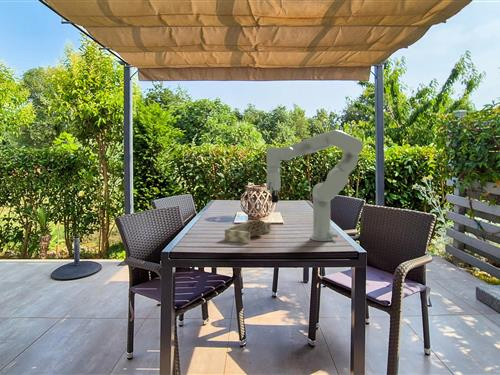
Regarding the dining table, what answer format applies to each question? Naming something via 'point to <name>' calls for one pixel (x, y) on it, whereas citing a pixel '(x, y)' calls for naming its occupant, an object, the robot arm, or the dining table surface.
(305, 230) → the dining table surface
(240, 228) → the box
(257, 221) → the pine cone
